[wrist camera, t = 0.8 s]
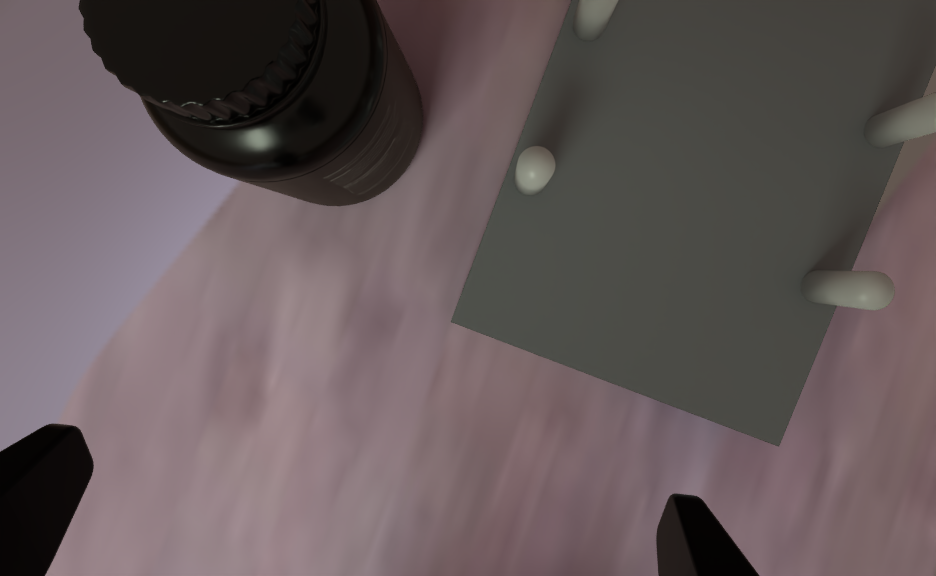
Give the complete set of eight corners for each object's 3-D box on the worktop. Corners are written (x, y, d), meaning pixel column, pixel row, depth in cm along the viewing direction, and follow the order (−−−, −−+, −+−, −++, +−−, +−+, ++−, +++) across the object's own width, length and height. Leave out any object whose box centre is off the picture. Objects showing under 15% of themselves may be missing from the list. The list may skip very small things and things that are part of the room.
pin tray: (765, 437, 25) (828, 479, 20) (452, 319, 25) (442, 332, 20) (946, -7, 24) (1058, -73, 19) (619, -124, 24) (649, -217, 19)
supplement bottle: (398, 11, 25) (305, -226, 13) (444, 181, 25) (396, 107, 13) (231, 61, 25) (-12, -123, 13) (278, 228, 25) (82, 198, 13)
